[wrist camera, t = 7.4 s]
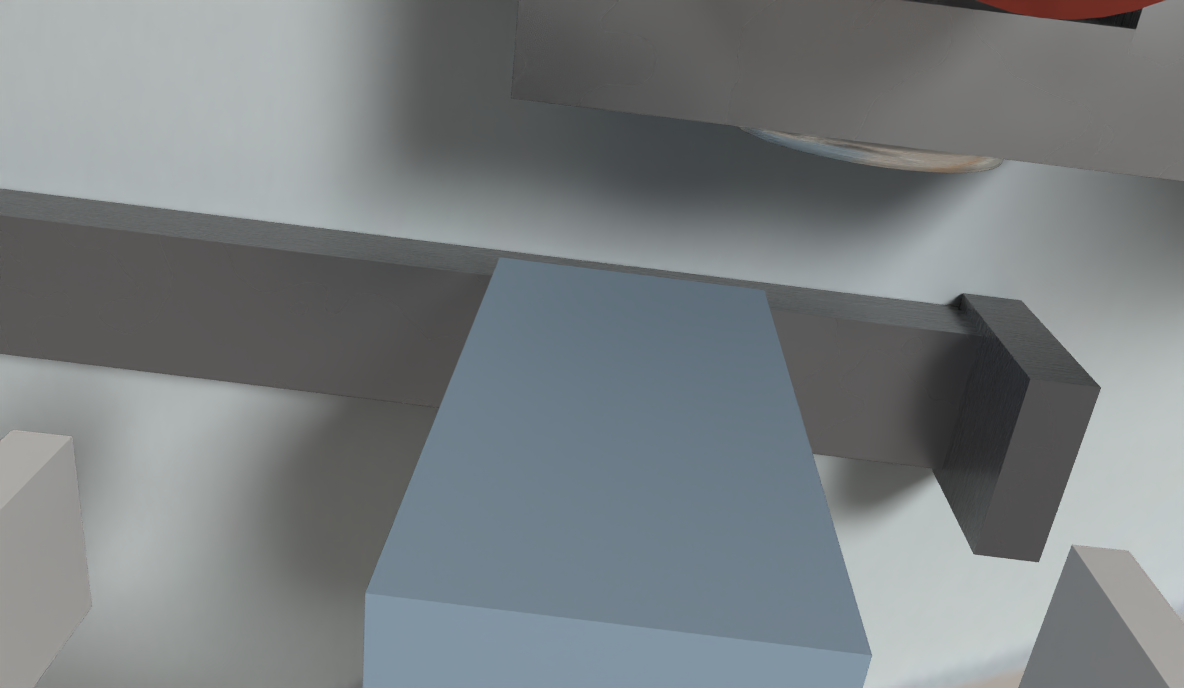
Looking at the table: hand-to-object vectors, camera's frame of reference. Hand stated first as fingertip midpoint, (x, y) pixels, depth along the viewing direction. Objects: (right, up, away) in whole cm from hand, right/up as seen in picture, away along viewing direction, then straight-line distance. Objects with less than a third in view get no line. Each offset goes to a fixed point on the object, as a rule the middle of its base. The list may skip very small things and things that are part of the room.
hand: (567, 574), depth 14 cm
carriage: (+1, +3, +6) cm, 7 cm away
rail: (-3, +4, +8) cm, 9 cm away
